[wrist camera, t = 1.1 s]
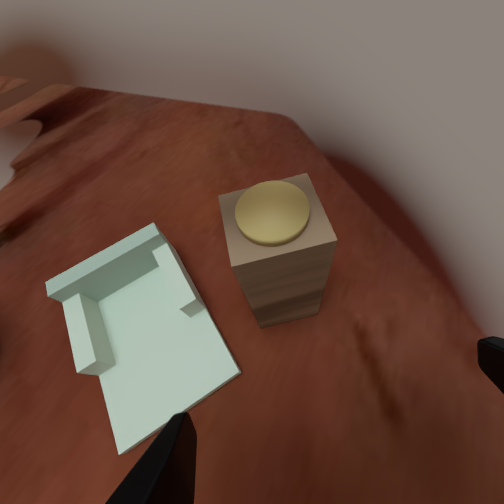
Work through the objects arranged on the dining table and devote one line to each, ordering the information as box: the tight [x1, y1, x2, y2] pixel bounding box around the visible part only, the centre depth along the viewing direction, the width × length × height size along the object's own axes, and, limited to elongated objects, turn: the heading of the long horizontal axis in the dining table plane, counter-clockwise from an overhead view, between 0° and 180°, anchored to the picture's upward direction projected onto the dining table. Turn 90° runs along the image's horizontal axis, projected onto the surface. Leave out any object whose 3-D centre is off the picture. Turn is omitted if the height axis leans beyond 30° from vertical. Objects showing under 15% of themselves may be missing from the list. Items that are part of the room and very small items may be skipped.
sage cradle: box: [45, 223, 242, 455], centre depth 21 cm, size 14×10×5 cm
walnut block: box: [218, 173, 337, 328], centre depth 18 cm, size 4×5×13 cm
